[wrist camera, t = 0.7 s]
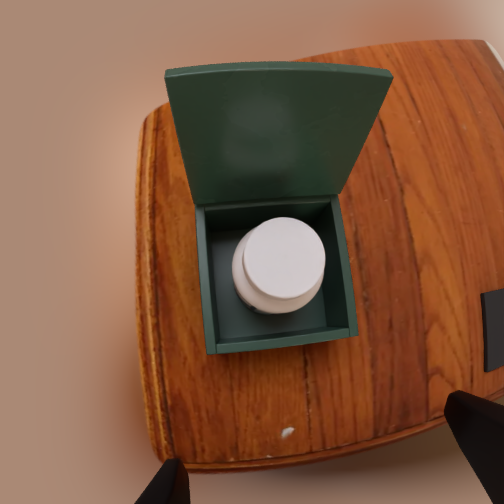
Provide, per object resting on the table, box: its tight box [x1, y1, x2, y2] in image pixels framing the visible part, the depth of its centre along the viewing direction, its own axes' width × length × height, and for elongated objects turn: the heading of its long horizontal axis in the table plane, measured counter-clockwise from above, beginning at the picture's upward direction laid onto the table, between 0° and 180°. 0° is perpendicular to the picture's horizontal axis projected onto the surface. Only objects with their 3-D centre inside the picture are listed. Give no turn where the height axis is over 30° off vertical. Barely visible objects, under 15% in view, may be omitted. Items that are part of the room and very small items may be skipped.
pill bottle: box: [232, 217, 325, 315], centre depth 19 cm, size 5×5×9 cm
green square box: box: [195, 194, 359, 355], centre depth 22 cm, size 9×9×6 cm
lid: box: [164, 61, 393, 205], centre depth 15 cm, size 10×9×1 cm
